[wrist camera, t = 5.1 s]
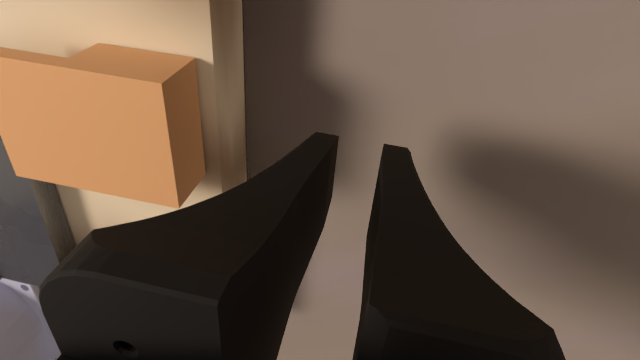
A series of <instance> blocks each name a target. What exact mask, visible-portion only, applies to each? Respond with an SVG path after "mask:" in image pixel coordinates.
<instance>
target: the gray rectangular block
mask: <svg viewBox="0 0 640 360" xmlns="http://www.w3.org/2000/svg"><path fill="white" fill-rule="evenodd" d="M74 248H75V243H74V240H73V237H72V234H71V231H70V228H69V225H68V222H67V219H66V216H65V213H64V209H63V206H62V203H61V200H60V197H59V194H58V191H57V188H56V185H55V184H54V183H49V182H44V181H39V180H35V179H30V178H25V177H20V176H16V174H15V171H14V169H13V166H12V163H11V161H10V158H9V156H8V153H7V151H6V148H5V146H4V143H3V141H2V138H1V136H0V278H4V279H8V280H13V281H17V282H21V283H25V284H29V285H34V286H38V287H40V285H41V284H42V282H43V281H44V280H45V279H46V277H47V276H48V275H49V274H50V273H51V272H52V271H53V270H54V269H55V268H56V267H57V266H58V265H59V264H60V263H61V262H62V260H63V259H64V258H65V257H66V256H67V255H68V254H69V253H70V252H71V251H72V250H73V249H74Z"/></svg>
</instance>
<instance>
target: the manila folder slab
mask: <svg viewBox="0 0 640 360" xmlns="http://www.w3.org/2000/svg"><path fill="white" fill-rule="evenodd" d="M0 136H1V138H2V141H3V143H4V146H5V148H6V151H7V153H8V156H9V158H10V161H11V163H12V166H13V169H14V171H15V174H16V176H20V177H25V178H30V179H35V180H39V181H44V182H49V183H54V184H59V185H64V186H69V187H74V188H79V189H84V190H89V191H94V192H99V193H103V194H108V195H113V196H118V197H123V198H128V199H133V200H138V201H143V202H148V203H153V204H158V205H163V206H168V207H172V208H177V209H179V208H180V207H181V206H182V205H183V203H184V202H185V201H186V199H187V198H188V197H189V195H190V194H191V193H192V192H193V190H194V189H195V188H196V186H197V185H198V184H199V182H200V181H201V180H202V178H203V177H204V176H205V175H206V172H205V161H204V151H203V140H202V129H201V118H200V107H199V96H198V85H197V74H196V64H195V58H192V57H186V56H179V55H173V54H166V53H160V52H153V51H147V50H141V49H134V48H128V47H121V46H115V45H108V44H102V43H97V44H95V45H93V46H91V47H89V48H87V49H85V50H83V51H81V52H79V53H77V54H75V55H73V56H71V57H69V58H66V57H60V56H54V55H48V54H41V53H35V52H29V51H23V50H17V49H10V48H4V47H0Z"/></svg>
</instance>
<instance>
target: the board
mask: <svg viewBox="0 0 640 360" xmlns="http://www.w3.org/2000/svg"><path fill="white" fill-rule="evenodd" d="M97 43H102V44H108V45H115V46H121V47H128V48H134V49H141V50H147V51H153V52H160V53H166V54H173V55H179V56H186V57H192V58H195V64H196V74H197V85H198V96H199V107H200V118H201V129H202V140H203V151H204V161H205V172H206V175H205V176H204V177H203V178H202V180H201V181H200V182H199V184H198V185H197V186H196V188H195V189H194V190H193V192H192V193H191V194H190V195H189V197H188V198H187V199H186V201H185V202H184V203H183V205H182V206H181V207H180V208H179V209H182V208H185V207H188V206H191V205H194V204H196V203H199V202H201V201H204V200H206V199H209V198H212V197H214V196H217V195H219V194H221V193H224V192H226V191H228V190H230V189H232V188H234V187H236V186H238V185H240V184H242V183H244V182H246V181H247V168H246V130H245V93H244V55H243V18H242V0H0V47H4V48H10V49H17V50H23V51H29V52H35V53H41V54H48V55H54V56H60V57H66V58H69V57H71V56H73V55H75V54H77V53H79V52H81V51H83V50H85V49H87V48H89V47H91V46H93V45H95V44H97ZM55 185H56V188H57V191H58V194H59V197H60V200H61V203H62V206H63V209H64V213H65V216H66V219H67V222H68V225H69V228H70V231H71V234H72V237H73V240H74V243H75V247H76V246H77V245H78V244H79V243H80V242H81V241H82V240H83V239H84V238H85V237H86V236H87V235H88V234H89V233H90V232H91V231H92V230H93V229H98V228H104V227H109V226H114V225H119V224H124V223H129V222H134V221H139V220H143V219H147V218H151V217H155V216H159V215H162V214H166V213H169V212H173V211H176V210H179V209H177V208H172V207H168V206H163V205H158V204H153V203H148V202H143V201H138V200H133V199H128V198H123V197H118V196H113V195H108V194H103V193H99V192H94V191H89V190H84V189H79V188H74V187H69V186H64V185H59V184H55ZM1 279H2V278H0V280H1Z"/></svg>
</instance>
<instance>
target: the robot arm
mask: <svg viewBox="0 0 640 360" xmlns="http://www.w3.org/2000/svg"><path fill="white" fill-rule="evenodd" d="M338 137H339V136H336V135H330V134H324V133H318V132H316V133H315V134H313V135H312V136H310V137H309V138H308V139H306V140H305V141H304V142H303V143H301V144H300V145H299V146H298V147H296V148H295V149H294V150H292V151H291V152H290V153H289V154H287V155H286V156H284V157H283V158H282V159H280V160H279V161H277V162H276V163H275V164H273V165H272V166H270V167H269V168H267V169H266V170H264V171H262V172H261V173H259V174H258V175H256V176H255V177H253V178H251V179H249V180H248V181H246V182H244V183H242V184H240V185H238V186H236V187H234V188H232V189H230V190H228V191H226V192H224V193H221V194H219V195H217V196H214V197H212V198H209V199H206V200H204V201H201V202H199V203H196V204H194V205H191V206H188V207H185V208H182V209H179V210H176V211H173V212H169V213H166V214H162V215H159V216H155V217H151V218H147V219H143V220H139V221H134V222H129V223H124V224H119V225H114V226H109V227H104V228H98V229H93V230H92V231H91V232H90V233H89V234H88V235H87V236H86V237H85V238H84V239H83V240H82V241H81V242H80V243H79V244H78V245H77V246H76V247H75V248H74V249H73V250H72V251H71V252H70V253H69V254H68V255H67V256H66V257H65V258H64V259H63V260H62V262H61V263H60V264H59V265H58V266H57V267H56V268H55V269H54V270H53V271H52V272H51V273H50V274H49V275H48V276H47V277H46V279H45V280H44V281H43V282H42V284H41V285H40V289H39V287H38V286H34V285H29V284H25V283H21V282H17V281H13V280H8V279H4V278H2V279H1V280H0V360H276V359H277V356H278V352H279V349H280V345H281V342H282V338H283V335H284V331H285V328H286V325H287V321H288V318H289V314H290V311H291V308H292V304H293V302H294V299H295V296H296V293H297V291H298V288H299V286H300V283H301V281H302V278H303V276H304V274H305V271H306V269H307V266H308V264H309V262H310V259H311V257H312V254H313V252H314V250H315V247H316V245H317V242H318V240H319V237H320V235H321V233H322V230H323V228H324V224H325V221H326V217H327V213H328V210H329V206H330V202H331V198H332V191H333V182H334V173H335V164H336V155H337V146H338ZM353 360H566V359H565V357H564V354H563V352H562V349H561V347H560V344H559V342H558V340H557V337H556V335H555V332H554V330H553V329H552V328H551V327H550V326H549V325H547V324H546V323H545V322H543V321H542V320H541V319H539V318H538V317H537V316H535V315H534V314H533V313H532V312H530V311H529V310H528V309H526V308H525V307H524V306H522V305H521V304H520V303H519V302H517V301H516V300H515V299H514V298H512V297H511V296H510V295H509V294H508V293H507V292H505V291H504V290H503V289H502V288H501V287H500V286H499V285H498V284H497V283H495V282H494V281H493V280H492V279H491V278H490V277H489V276H488V275H487V274H486V273H485V272H484V271H483V270H482V269H481V268H480V267H479V266H478V265H477V264H476V263H475V262H474V261H473V260H472V259H471V257H470V256H469V255H468V254H467V253H466V252H465V251H464V250H463V249H462V247H461V246H460V245H459V244H458V243H457V241H456V240H455V239H454V237H453V236H452V235H451V233H450V232H449V231H448V229H447V228H446V226H445V225H444V223H443V222H442V220H441V219H440V217H439V215H438V214H437V212H436V210H435V208H434V207H433V205H432V203H431V201H430V200H429V198H428V196H427V194H426V192H425V190H424V187H423V185H422V183H421V181H420V179H419V177H418V174H417V172H416V169H415V166H414V163H413V160H412V157H411V152H410V151H409V150H408V148H405V147H399V146H393V145H388V144H384V146H383V151H382V156H381V161H380V167H379V172H378V178H377V183H376V188H375V194H374V199H373V205H372V210H371V216H370V221H369V227H368V232H367V240H366V253H365V266H364V279H363V292H362V305H361V313H360V321H359V326H358V332H357V338H356V343H355V349H354V355H353Z"/></svg>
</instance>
